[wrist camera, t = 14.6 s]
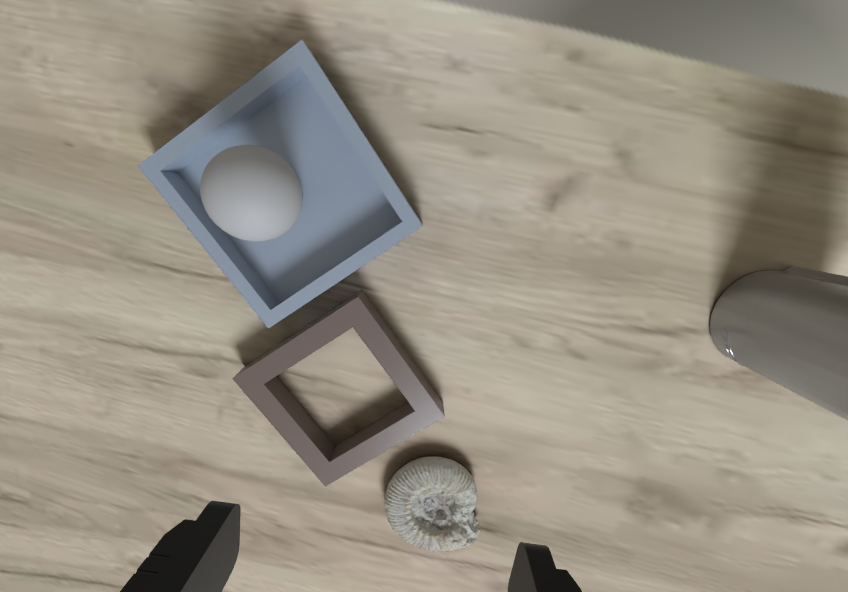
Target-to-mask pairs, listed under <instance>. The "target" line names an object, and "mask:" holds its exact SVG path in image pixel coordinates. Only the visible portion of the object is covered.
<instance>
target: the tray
mask: <svg viewBox="0 0 848 592" xmlns="http://www.w3.org/2000/svg"><path fill="white" fill-rule="evenodd" d="M237 145H256V146H261V147H264V148H266V149H269V150H271V151H273V152H275V153H277V154H278V155H280V156H281V157H282V158H283V159H284V160H285V161H287V162H288V164H289V165H290V166H291V167H292V169H293V170H294V172H295V173H296V175H297V177H298V179H299V182H300V185H301V188H302V193H303V199H302V207H301V210H300V214H299V216H298V217H297V219H296V221H295V223H294V224H293V225H292V226H291V228H290V229H289V230H288V231H286V232H285V233H284V234H282V235H280V236H278V237H276V238H274V239H270V240H266V241H248V240H243V239H239V238H237V237H234V236H232V235H230V234H228V233H227V232H225V231H223V230H222V229H221V228H220V227H219V226H217V225H216V224H215V223H214V222H213V220H212V219H211V218H210V217H209V215H208V213H207V212H206V210H205V208H204V205H203V203H202V199H201V193H200V182H201V177H202V173H203V171H204V169H205V167H206V165H207V164H208V163H209V161H210V160H211V159H212V158H213V157H214V156H216V155H217V154H218V153H219V152H221V151H223V150H225V149H227V148H229V147H233V146H237ZM138 167H139V168H140V169H141V171H142V172H143V173H144V174H145V176H146V177H147V178H148V179H149V181H150V182H151V183H152V184H153V186H154V187H155V188H156V189H157V191H158V192H159V193H160V194H161V196H162V197H163V198H164V199H165V201H166V202H167V203H168V204H169V206H170V207H171V208H172V209H173V211H174V212H175V213H176V214H177V216H178V217H179V218H180V219H181V220H182V222H183V223H184V224H185V225H186V227H187V228H188V229H189V230H190V232H191V233H192V234H193V235H194V237H195V238H196V239H197V240H198V242H199V243H200V244H201V245H202V247H203V248H204V249H205V250H206V252H207V253H208V254H209V255H210V257H211V258H212V259H213V260H214V262H215V263H216V264H217V265H218V267H219V268H220V269H221V270H222V271H223V273H224V274H225V275H226V276H227V278H228V279H229V280H230V281H231V283H232V284H233V285H234V286H235V288H236V289H237V290H238V291H239V293H240V294H241V295H242V296H243V298H244V299H245V300H246V301H247V303H248V304H249V305H250V306H251V308H252V309H253V310H254V311H255V313H256V314H257V315H258V316H259V318H260V319H261V320H262V321H263V322H264V324H265V325H266V326H267V327H268V329H269V328H270V327H272V326H273V325H275V324H276V323H278V322H279V321H281V320H282V319H284V318H285V317H287V316H288V315H290V314H291V313H293V312H294V311H296V310H297V309H299V308H300V307H302V306H303V305H305V304H306V303H308V302H309V301H311V300H312V299H314V298H315V297H317V296H318V295H320V294H321V293H323V292H324V291H326V290H327V289H329V288H330V287H332V286H333V285H335V284H336V283H338V282H339V281H341V280H342V279H344V278H345V277H347V276H348V275H350V274H351V273H353V272H354V271H356V270H357V269H359V268H360V267H362V266H363V265H365V264H367V263H368V262H370V261H371V260H373V259H374V258H376V257H377V256H379V255H380V254H382V253H383V252H385V251H386V250H388V249H389V248H391V247H392V246H394V245H395V244H397V243H398V242H400V241H401V240H403V239H404V238H406V237H407V236H409V235H410V234H412V233H413V232H415V231H416V230H418V229H419V228H421V227H422V226H423V224H422V222H421V221H420V219H419V218H418V216H417V214H416V213H415V211H414V210H413V208H412V207H411V205H410V204H409V202H408V200H407V199H406V197H405V196H404V194H403V193H402V191H401V190H400V188H399V187H398V185H397V183H396V182H395V180H394V179H393V177H392V176H391V174H390V173H389V171H388V169H387V168H386V166H385V165H384V163H383V162H382V160H381V159H380V157H379V156H378V154H377V152H376V151H375V149H374V148H373V146H372V145H371V143H370V142H369V140H368V139H367V137H366V135H365V134H364V132H363V131H362V129H361V128H360V126H359V125H358V123H357V121H356V120H355V118H354V117H353V115H352V114H351V112H350V111H349V109H348V108H347V106H346V104H345V103H344V101H343V100H342V98H341V97H340V95H339V94H338V92H337V90H336V89H335V87H334V86H333V84H332V83H331V81H330V80H329V78H328V77H327V75H326V73H325V72H324V70H323V69H322V67H321V66H320V64H319V63H318V61H317V59H316V58H315V56H314V55H313V53H312V52H311V51H310V49H309V48H308V47H307V45H306V44H305V43H304V41H303V40H300V41H299V42H298V43H297V44H295V45H294V46H293V47H291V48H290V49H289V50H287V51H286V52H285V53H284V54H282V55H281V56H280V57H278V58H277V59H276V60H274V61H273V62H272V63H271V64H269V65H268V66H267V67H265V68H264V69H263V70H262V71H260V72H259V73H258V74H256V75H255V76H254V77H252V78H251V79H250V80H249V81H247V82H246V83H245V84H243V85H242V86H241V87H239V88H238V89H237V90H236V91H234V92H233V93H232V94H230V95H229V96H228V97H226V98H225V99H224V100H223V101H221V102H220V103H219V104H217V105H216V106H215V107H214V108H212V109H211V110H210V111H208V112H207V113H206V114H204V115H203V116H202V117H201V118H199V119H198V120H197V121H195V122H194V123H193V124H191V125H190V126H189V127H188V128H186V129H185V130H184V131H182V132H181V133H180V134H178V135H177V136H176V137H175V138H173V139H172V140H171V141H169V142H168V143H167V144H166V145H164V146H163V147H162V148H160V149H159V150H158V151H156V152H155V153H154V154H153V155H151V156H150V157H149V158H147V159H146V160H145V161H143V162H142V163H141V164H140V165H138Z"/></svg>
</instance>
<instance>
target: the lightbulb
mask: <svg viewBox="0 0 848 592" xmlns="http://www.w3.org/2000/svg"><path fill="white" fill-rule="evenodd" d="M200 193H201V199H202V203H203V205H204V208H205V210H206V212H207V213H208V215H209V217H210V218H211V219H212V220H213V222H214V223H215V224H216V225H217V226H219V227H220V228H221V229H222V230H223V231H225V232H227V233H228V234H230V235H232V236H234V237H237V238H239V239H243V240H248V241H266V240H270V239H274V238H276V237H278V236H280V235H282V234H284V233H285V232H286V231H288V230H289V229H290V228H291V226H292V225H293V224H294V223H295V221H296V219H297V217H298V216H299V214H300V210H301V207H302V199H303V193H302V188H301V185H300V182H299V179H298V177H297V175H296V173H295V172H294V170H293V169H292V167H291V166H290V165H289V164H288V162H287V161H285V160H284V159H283V158H282V157H281V156H280V155H278V154H277V153H275V152H273V151H271V150H269V149H266V148H264V147H261V146H256V145H237V146H233V147H229V148H227V149H225V150H223V151H221V152H219V153H218V154H217V155H216V156H214V157H213V158H212V159H211V160H210V161H209V163H208V164H207V165H206V167H205V169H204V171H203V173H202V177H201V182H200Z"/></svg>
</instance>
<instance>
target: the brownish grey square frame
mask: <svg viewBox="0 0 848 592" xmlns="http://www.w3.org/2000/svg"><path fill="white" fill-rule="evenodd" d="M352 327H353V328H354V329H355V331H356V332H357V333H358V335H359V336H360V337H361V339H362V340H363V341H364V343H365V344H366V345H367V347H368V348H369V350H370V351H371V352H372V354H373V355H374V356H375V358H376V359H377V360H378V362H379V363H380V364H381V366H382V367H383V368H384V370H385V371H386V372H387V374H388V375H389V376H390V378H391V379H392V380H393V382H394V383H395V385H396V386H397V387H398V389H399V390H400V391H401V393H402V394H403V395H404V397H405V398H406V399H407V401H408V402H407V403H406V404H404V405H402V406H401V407H399V408H397V409H396V410H394V411H392V412H391V413H389V414H387V415H386V416H384V417H382V418H381V419H379V420H377V421H376V422H374V423H372V424H371V425H369V426H367V427H366V428H364V429H362V430H361V431H359V432H357V433H356V434H354V435H352V436H351V437H349V438H347V439H346V440H344V441H342V442H341V443H339V444H337V445H336V446H334V445H333V443H332V442H331V441H330V440H329V439H328V437H327V436H326V435H325V434H324V433H323V431H322V430H321V429H320V428H319V427H318V425H317V424H316V423H315V422H314V420H313V419H312V418H311V417H310V416H309V414H308V413H307V412H306V411H305V410H304V408H303V407H302V406H301V405H300V404H299V402H298V401H297V400H296V399H295V397H294V396H293V395H292V394H291V393H290V391H289V390H288V389H287V388H286V387H285V385H284V384H283V383H282V382H281V381H280V379H279V378H278V377H277V375H279V374H280V373H282V372H283V371H285V370H287V369H288V368H290V367H291V366H293V365H294V364H296V363H297V362H299V361H301V360H302V359H304V358H305V357H307V356H308V355H310V354H311V353H313V352H315V351H316V350H318V349H319V348H321V347H322V346H324V345H326V344H327V343H329V342H330V341H332V340H333V339H335V338H336V337H338V336H340V335H341V334H343V333H344V332H346V331H347V330H349V329H350V328H352ZM233 380H234V381H235V382H236V383H237V384H238V386H239V387H240V388H241V389H242V390H243V391H244V393H245V394H246V395H247V396H248V397H249V398H250V400H251V401H252V402H253V403H254V404H255V405H256V406H257V408H258V409H259V410H260V411H261V412H262V413H263V415H264V416H265V417H266V418H267V419H268V420H269V422H270V423H271V424H272V425H273V426H274V427H275V429H276V430H277V431H278V432H279V433H280V434H281V436H282V437H283V438H284V439H285V440H286V441H287V443H288V444H289V445H290V446H291V447H292V448H293V450H294V451H295V452H296V453H297V454H298V455H299V456H300V458H301V459H302V460H303V461H304V462H305V463H306V465H307V466H308V467H309V468H310V469H311V470H312V472H313V473H314V474H315V475H316V476H317V477H318V479H319V480H320V481H321V482H322V483H323V484H324V486H327V485H328V484H330V483H332V482H334V481H335V480H337V479H339V478H340V477H342V476H344V475H346V474H347V473H349V472H351V471H352V470H354V469H356V468H357V467H359V466H361V465H363V464H364V463H366V462H368V461H369V460H371V459H373V458H375V457H376V456H378V455H380V454H381V453H383V452H385V451H386V450H388V449H390V448H392V447H393V446H395V445H397V444H398V443H400V442H402V441H404V440H405V439H407V438H409V437H410V436H412V435H414V434H415V433H417V432H419V431H421V430H422V429H424V428H426V427H427V426H429V425H431V424H433V423H434V422H436V421H438V420H439V419H441V418H443V417H445V415H444V407H443V402H442V401H441V399H440V398H439V396H438V395H437V394H436V392H435V391H434V389H433V388H432V387H431V385H430V384H429V383H428V381H427V380H426V378H425V377H424V376H423V374H422V373H421V371H420V370H419V369H418V367H417V366H416V364H415V363H414V362H413V360H412V359H411V357H410V356H409V355H408V353H407V352H406V350H405V349H404V348H403V346H402V345H401V343H400V342H399V341H398V339H397V338H396V336H395V335H394V334H393V332H392V331H391V330H390V328H389V327H388V325H387V324H386V323H385V321H384V320H383V318H382V317H381V316H380V314H379V313H378V311H377V310H376V309H375V307H374V306H373V304H372V303H371V302H370V300H369V299H368V297H367V296H366V295H365V293H364V292H363V290H361V291H359V292H358V293H356V294H355V295H353V296H352V297H350V298H349V299H347V300H346V301H344V302H343V303H341V304H340V305H338V306H337V307H335V308H333V309H332V310H330V311H329V312H327V313H326V314H324V315H323V316H321V317H320V318H318V319H317V320H315V321H314V322H312V323H311V324H309V325H307V326H306V327H304V328H303V329H301V330H300V331H298V332H297V333H295V334H294V335H292V336H291V337H289V338H288V339H286V340H285V341H283V342H281V343H280V344H278V345H277V346H275V347H274V348H272V349H271V350H269V351H268V352H266V353H265V354H263V355H262V356H260V357H259V358H257V359H256V360H254V361H252V362H251V363H249V364H248V365H246V366H245V367H244V368H243V369H242V370H241V371H240V372H239V373H238V374H237V375H236V376H235V377H234V378H233Z"/></svg>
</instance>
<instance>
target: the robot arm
mask: <svg viewBox="0 0 848 592" xmlns="http://www.w3.org/2000/svg"><path fill="white" fill-rule="evenodd" d="M710 332H711V337H712V340H713V343H714V344H715V346H716V347H717V349H718V350H719V351H720V352H721V353H722V354H724V355H725V356H727V357H728V358H730V359H732V360H734V361H736V362H737V363H739V364H740V365H742V366H745V367H747V368H749V369H751V370H753V371H755V372H757V373H759V374H760V375H762V376H764V377H766V378H768V379H770V380H772V381H773V382H775V383H777V384H779V385H781V386H783V387H785V388H787V389H789V390H791V391H793V392H794V393H796V394H798V395H800V396H802V397H804V398H806V399H808V400H810V401H812V402H814V403H815V404H817V405H819V406H821V407H823V408H825V409H827V410H829V411H831V412H833V413H835V414H836V415H838V416H840V417H842V418H844V419H846V420H848V277H847V276H842V275H836V274H831V273H826V272H821V271H815V270H810V269H805V268H800V267H794V266H790V267H788V268H787V269H785V270H782V271H769V270H766V271H759V272H755V273H752V274H749V275H746V276H744V277H742V278H741V279H739V280H737V281H736V282H734V283H733V284H732V285H731V286H730V287H728V288H727V289H726V290H725V292H724V293H723V294H722V295H721V296H720V298H719V299H718V301H717V303H716V304H715V306H714V309H713V312H712V315H711V321H710ZM239 541H240V505H239V504H233V503H226V502H218V501H211V502H210V503H209V504H208V505H207V506H206V507H205V509H204V510H203V511H202V513H201V514H200V516H199V517H198V518H197V520H196V521H193V520H183V521H182V522H181V523H179V524H178V525H177V526H175V527H174V528H173V529H171V530H170V531H169V532H167V533H166V534H165V535H164V536H163V537H162V539H161V540H160V541H159V542H158V544H157V545H156V546H155V548H154V549H153V550H152V551H151V553H150V555H149V557H147V558H146V559H145V560H144V562H143V563H142V564H141V565H140V567H139V568H138V569H137V572H136V574H133V576H132V577H131V578H130V580H129V581H128V582H127V583H126V585H125V586H124V587H123V589H122V590H121V591H120V592H222V590H223V588H224V586H225V584H226V582H227V580H228V578H229V576H230V574H231V572H232V570H233V568H234V565H235V563H236V559H237V556H238V551H239ZM508 592H582V591H581V589H580V587H579V586H578V585H577V583H576V582H575V581H574V579H573V578H572V577H571V575H570V574H569V573H568V571H567V570H561V569H556V567H555V564H554V561H553V558H552V555H551V552H550V550H549V548H548V547H547V546H545V545H537V544H530V543H522V542H521V543H520V544H519V545H518V548H517V552H516V556H515V560H514V564H513V568H512V572H511V576H510V579H509V584H508Z"/></svg>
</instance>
